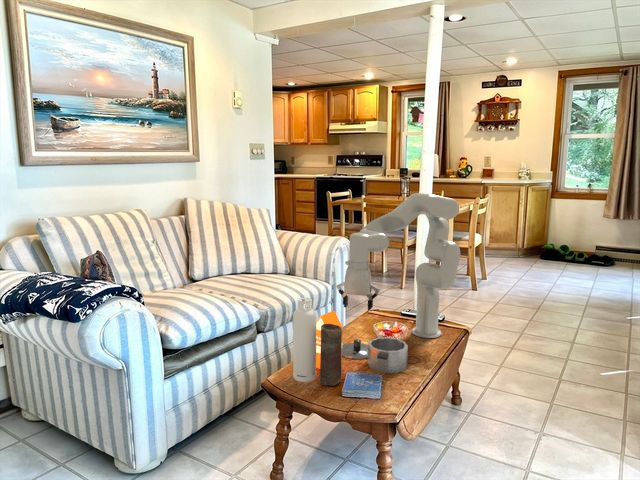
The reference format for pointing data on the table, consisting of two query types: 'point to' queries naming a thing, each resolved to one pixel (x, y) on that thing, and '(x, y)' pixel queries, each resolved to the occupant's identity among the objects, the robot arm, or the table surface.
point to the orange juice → (324, 319)
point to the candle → (330, 354)
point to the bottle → (304, 341)
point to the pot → (387, 355)
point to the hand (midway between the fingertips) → (357, 307)
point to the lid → (355, 350)
